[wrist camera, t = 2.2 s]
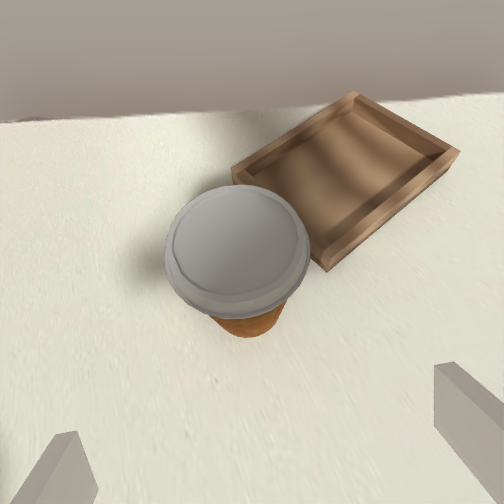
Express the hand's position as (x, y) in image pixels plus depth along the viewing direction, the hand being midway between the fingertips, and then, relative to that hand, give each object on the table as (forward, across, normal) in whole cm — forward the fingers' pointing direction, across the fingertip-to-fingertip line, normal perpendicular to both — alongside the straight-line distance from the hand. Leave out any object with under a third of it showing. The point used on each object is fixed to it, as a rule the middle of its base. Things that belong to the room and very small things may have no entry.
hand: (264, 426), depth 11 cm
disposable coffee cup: (+18, 0, +3) cm, 18 cm away
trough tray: (+27, -13, -6) cm, 31 cm away
